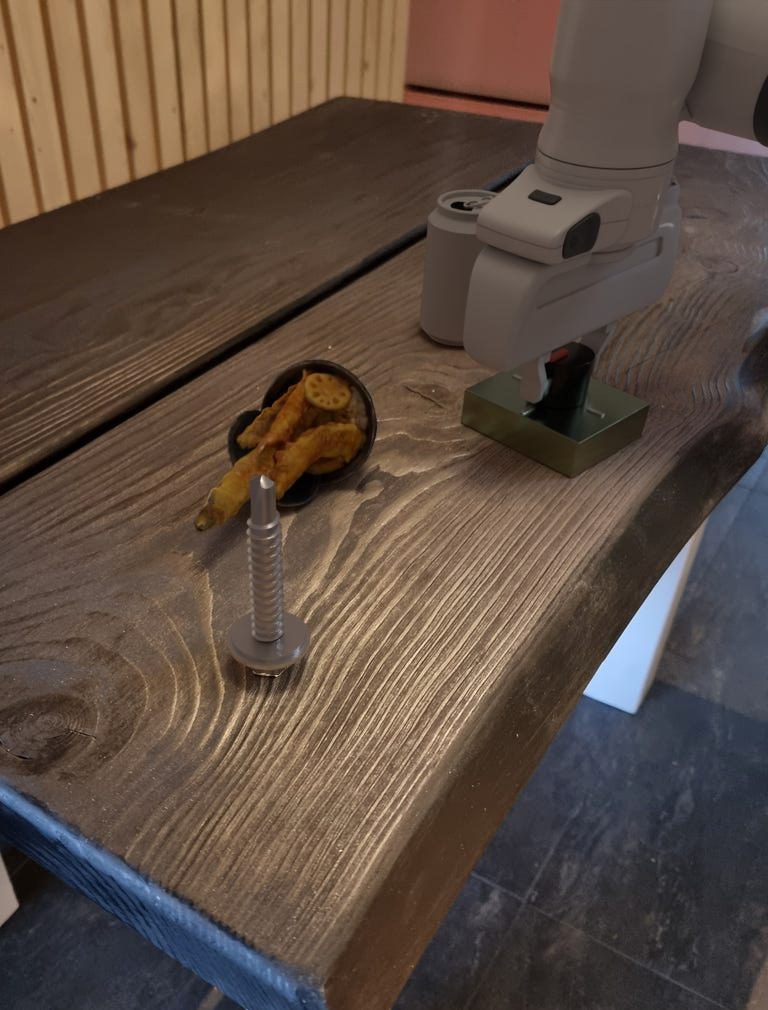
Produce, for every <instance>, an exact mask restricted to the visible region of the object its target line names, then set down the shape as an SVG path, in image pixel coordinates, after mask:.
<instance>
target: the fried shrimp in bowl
mask: <svg viewBox="0 0 768 1010" xmlns="http://www.w3.org/2000/svg"><path fill="white" fill-rule="evenodd" d="M377 433H378V419H377V413H376V409H375V406H374V401H373V397H372V395H371V394H370V392H369V390H368V389H367V387H366V386H365V385H364V383H363V382H362V381H361V380H360V379H359V378H358V376H357V375H356V374H355V373H353V372H352V371H350V370H349V369H347V368H346V367H344V366H343V365H341V364H338V363H336V362H334V361H330V360H327V359H306V360H303V361H299V362H296V363H294V364H292V365H290V366H288V367H286V369H284V370H283V371H281V372H280V373H279V374H278V375H277V376H275V378H274V379H273V381H272V382H271V383H270V385H269V386H268V388H267V390H266V391H265V393H264V396H263V398H262V401H261V407H260V410H259V409H252V410H244V411H243V412H242V413H239V414H238V415H237V416H236V417H235V419H234V420H233V421H232V422H231V424H230V426H229V430H228V433H227V437H226V448H227V450H226V451H227V454H228V456H229V460H230V463H231V466H232V469H231V470H230V471H228V472H226V474H225V475H224V476H223V477H222V478H221V479H220V480H219V481H218V482H217V484H216V485H215V486H214V487H213V488H211V490H210V491H209V493H208V495H207V498H206V500H205V501H204V502H205V503H204V504H203V506H202V507H201V508H200V509H199V511H198V513H197V514H196V515H195V518H194V520H193V525H194V527H195V531H196V533H197V534H198V535H199V536H204V535H205V534H207V533H208V532H209V531H212V530H214V529H215V528H216V527H220V526H222V525H224V524H225V523H226V522H227V520H228V519H229V518H230V517H233V516H235V515H237V514H238V512H239V510H240V509H241V508H242V507H243V505H244V504H245V503H246V502H247V501H249V500H251V497H250V479H251V478H253V477H254V476H257V475H262V474H263V475H265V477H267V478H269V479H270V480H272V481H273V482H275V490H276V506H280V507H283V508H298V507H302V506H304V505H306V504H307V503H309V502H310V501H311V500H313V498H314V497H315V496H316V493H317V492H318V490H319V488H320V486H328V485H329V486H330V485H334V484H338V483H341V482H343V481H345V480H346V479H349V478H351V477H352V476H353V475H354V474H355V473H356V472H357V471H358V470H360V469H361V467H362V466H363V465H364V464H365V463H366V462H367V460H368V459H369V457H370V456H371V453H372V451H373V447H374V445H375V442H376V438H377Z"/></svg>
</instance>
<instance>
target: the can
mask: <svg viewBox="0 0 768 1010" xmlns="http://www.w3.org/2000/svg"><path fill="white" fill-rule="evenodd" d="M499 194H500V193H498V192H495V191H491V190H485V189H484V190H483V189H457V190H451V191H447V192H444V193H442V194H441V195H440V196H439V197H438V198H437V199H436V204H437V207H436V208H435V209H433V210H432V212H431V213H430V214H429V215H428V217H427V228H426V229H427V230H426V238H425V240H426V242H425V250H424V251H425V253H424V262H423V263H424V265H423V273H422V274H423V275H422V287H421V299H420V310H419V326H420V328H421V329H422V330H423V331H424V332H425V333H426V335H427V336H429V338H430V339H431V340H433V341H435V342H437V343H440V344H443V345H447V346H453V347H464V345H463V332H464V321H465V312H466V304H467V297H468V291H469V285H470V279H471V274H472V270H473V267H474V264H475V262H476V259H477V257H478V255H479V254H480V252H481V251H482V250H483V248H484V247H486V246H487V245H488V244H487V243H485V242H483V241H480V240H479V239H478V238H477V236H476V226H477V219H478V215H479V213H480V211H481V209H482V208H483V207H484V206H485V205H486V204H487V203H489V202H490V201H491V200H492V199H494V198H495V197H496V196H497V195H499Z"/></svg>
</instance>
